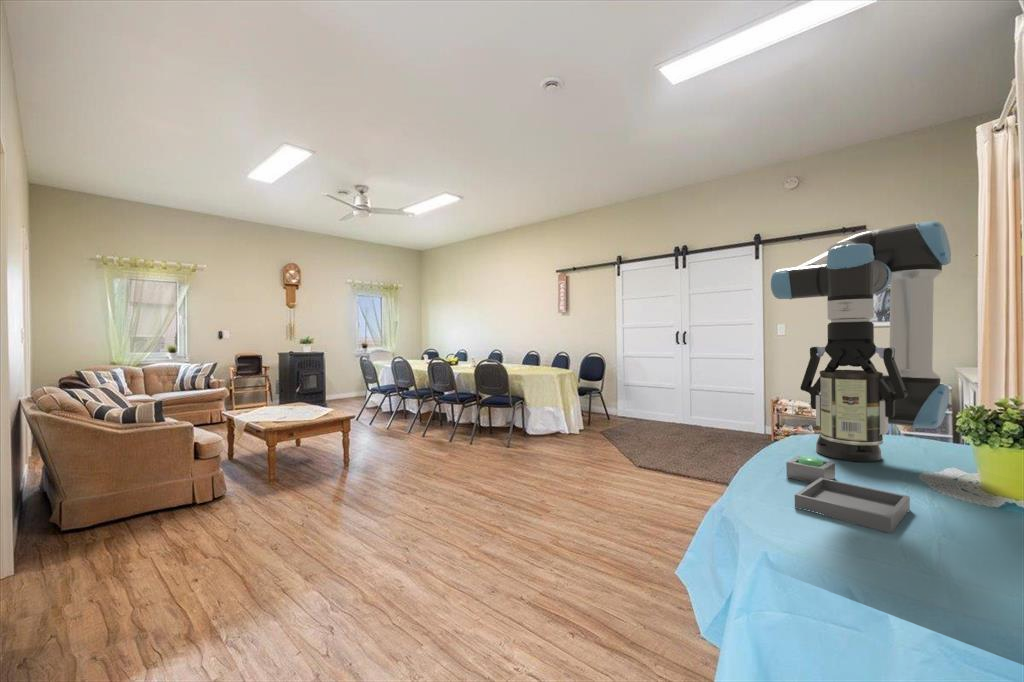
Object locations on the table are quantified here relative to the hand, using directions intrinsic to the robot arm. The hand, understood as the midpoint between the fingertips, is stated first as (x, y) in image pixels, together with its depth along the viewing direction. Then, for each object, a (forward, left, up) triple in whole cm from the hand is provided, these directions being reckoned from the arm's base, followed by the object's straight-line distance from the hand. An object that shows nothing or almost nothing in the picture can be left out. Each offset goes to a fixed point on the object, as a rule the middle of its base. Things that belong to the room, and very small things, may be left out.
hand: (850, 428), depth 90 cm
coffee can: (0, 0, -2) cm, 2 cm away
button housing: (-15, -12, -17) cm, 26 cm away
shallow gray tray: (0, 0, -17) cm, 17 cm away
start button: (-15, -12, -16) cm, 25 cm away
